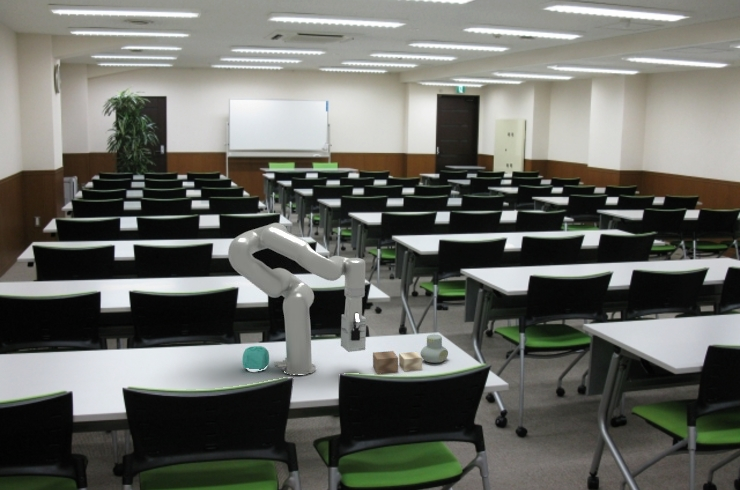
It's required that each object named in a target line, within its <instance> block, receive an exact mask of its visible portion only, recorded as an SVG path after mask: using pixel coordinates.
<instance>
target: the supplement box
mask: <svg viewBox="0 0 740 490" xmlns="http://www.w3.org/2000/svg"><path fill="white" fill-rule="evenodd" d="M354 317H355V316H354ZM359 321H360V320H359ZM340 322H341V326H340V329H341V330H340V346H341V348H343V350H346V351H347V352H348V353H350V352H360V351H366V337H367V336H366V335H367V334H366V333H367V317H365V316H363V315H362V320H361V323H360V340H359V341H352V340H351V330H352V323H348V322H349V320H348V318H347V316H346V315H345V313H344V314H341V321H340ZM353 322H356V321H355V319H354V320H353ZM354 325H356V324H354Z"/></svg>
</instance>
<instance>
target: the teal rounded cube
mask: <svg viewBox="0 0 740 490" xmlns="http://www.w3.org/2000/svg"><path fill="white" fill-rule="evenodd" d="M241 362H242V366H243V368H244V369H245V368H249V369H259V370H261V369H264V368H265V367H266V366H267V365H268V366H269V363H270V353H269V350H268V349H267V348H266V347H265V346H261V345H253V346H249V347H247V348H245V349H244V350H243V354H242V361H241Z"/></svg>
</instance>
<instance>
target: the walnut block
mask: <svg viewBox="0 0 740 490" xmlns="http://www.w3.org/2000/svg"><path fill="white" fill-rule="evenodd" d="M372 368H373V369H374V371H375V373H376V374H377V375H385V374H393V373H394V374H395V373H399V356H397V355H396V353H395V351H394V350H388V351H376V352H375V351H374V352H372ZM380 373H381V374H380Z"/></svg>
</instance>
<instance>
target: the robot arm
mask: <svg viewBox="0 0 740 490" xmlns="http://www.w3.org/2000/svg"><path fill="white" fill-rule="evenodd" d="M265 249H269V250H272V251H274V252H276V253H277V254H280V255H282V256H284V257H285V258H286V257H287V258H288V259H290V260H292V261H295V262H296V263H297V264H298V265H299V266H301V267H302V268H304V269H305V270H306V271H308V272H310V273H311V274H313V275H316V276H318V277H319V278H322V279H324V280H327V281H330V282H333V281H337V280H338V279H340V278H341V276H344V296H345V306H344V314H345V315H346V316H347V318H348V320H349V322H348V323H352V330H351V340H352V341H359V340H360V323H361V320H362V316H363V298H364V297H365V293H366V291H365V289H366V260H364V259H363V258H360V257H345V256H341V255H340V256H339V255H332V256H330V257H329V258H327V257H325V256H323V255H321V254H319V253H318V252H316V251H315V250H314V249H313V248H312V247H311V246H310V244H309V243H308V242H307V240H306V239H303V238H301V237H299V236H296V235H294V234H292V233H290V232H288V228H287V227H286V226H285V225H283V224H282V223H279V222H273V223H269V224H268V225H264V226H260V227H258V228H255V229H254V228H253V229H251V230H248V231H245V232H243V233H241V234H239V235H238V236H236V237H235V238H233V240H232V241H231V242H230V244H229V246H228V250H227V251H228V253H227V256H228V261H229V264H230V266H231V267H232V268H233V269H234V270H235V271H236V272H237V273H238V274H239V275H240V276H242V277H243V278H245V279H246V280H248V282H250V283H251V284H253V286H255V287H256V288H258V289H259V290H261V291H262V293H264V294H265V295H267V296H268V297H270V298H279V297H280V296H282V297H283V298H284V299H283V303H282V311H283V315H284V316H283V317H284V331H285V349H286V350H285V353H286V355H285V358H284V359H282V360H281V361H277V360H276V361H274V367H278V369H282V371H283V370H284V371H285V372H286V373H288V374H291V375H293V374H295V375H298V374H308V373H311V374H313V373H314V371H315V372H316V369H317V367H316V365H315V364H313V361H312V360H313V359H312V333H311V319H310V318H311V317H310V307H311V306H312V304H313V303H314V299H315V295H314V291H313V289H312V288H311V287H310V286H309V285H308V284H306V283H305V282H304V281H302V279H300V278H299V277H297V276H296V275H295V274H294V273H291V272H290V271H289V270H287V269H285V268H282V267H277V268H273V269H272V268H271V267H269V266H267V265H266V264H265V263H264V262H263V261H261V260H259V259H257V258H255V257H254V255H253V254H254V253H256V252H259V251H261V250H265ZM354 316H355V317H354ZM354 319H355V321H356V322H353V320H354ZM359 320H360V321H359ZM354 324H356V325H354ZM312 372H313V373H312ZM291 375H290V376H291ZM308 375H309V374H308Z"/></svg>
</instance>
